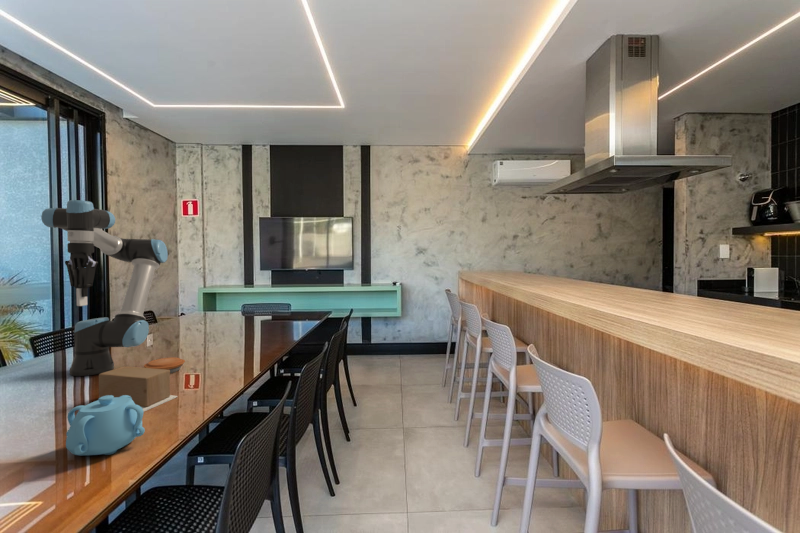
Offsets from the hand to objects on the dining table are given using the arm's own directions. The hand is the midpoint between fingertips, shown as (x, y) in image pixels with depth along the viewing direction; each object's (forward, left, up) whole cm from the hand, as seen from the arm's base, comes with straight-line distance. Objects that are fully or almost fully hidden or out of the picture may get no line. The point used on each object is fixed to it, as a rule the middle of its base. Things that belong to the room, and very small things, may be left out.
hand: (82, 305), depth 138 cm
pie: (-29, +8, -33) cm, 44 cm away
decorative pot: (+28, +49, -33) cm, 65 cm away
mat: (+2, +29, -33) cm, 43 cm away
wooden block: (+2, +16, -27) cm, 32 cm away
